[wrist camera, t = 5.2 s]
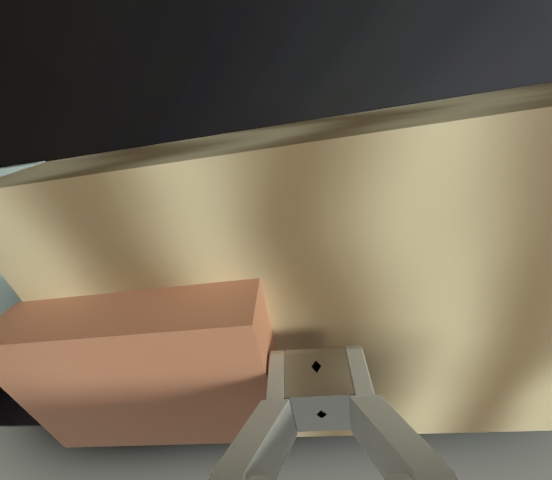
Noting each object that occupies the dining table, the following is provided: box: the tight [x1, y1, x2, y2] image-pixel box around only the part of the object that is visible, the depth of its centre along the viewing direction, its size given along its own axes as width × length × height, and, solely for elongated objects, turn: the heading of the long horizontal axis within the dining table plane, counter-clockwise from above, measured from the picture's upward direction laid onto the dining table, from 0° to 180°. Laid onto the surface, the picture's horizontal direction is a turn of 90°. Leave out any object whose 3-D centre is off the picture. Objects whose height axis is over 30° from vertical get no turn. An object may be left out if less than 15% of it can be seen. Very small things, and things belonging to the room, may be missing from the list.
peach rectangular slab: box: [0, 278, 277, 447], centre depth 10 cm, size 9×6×2 cm, turn 99°
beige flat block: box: [0, 82, 552, 437], centre depth 12 cm, size 22×14×4 cm, turn 99°
